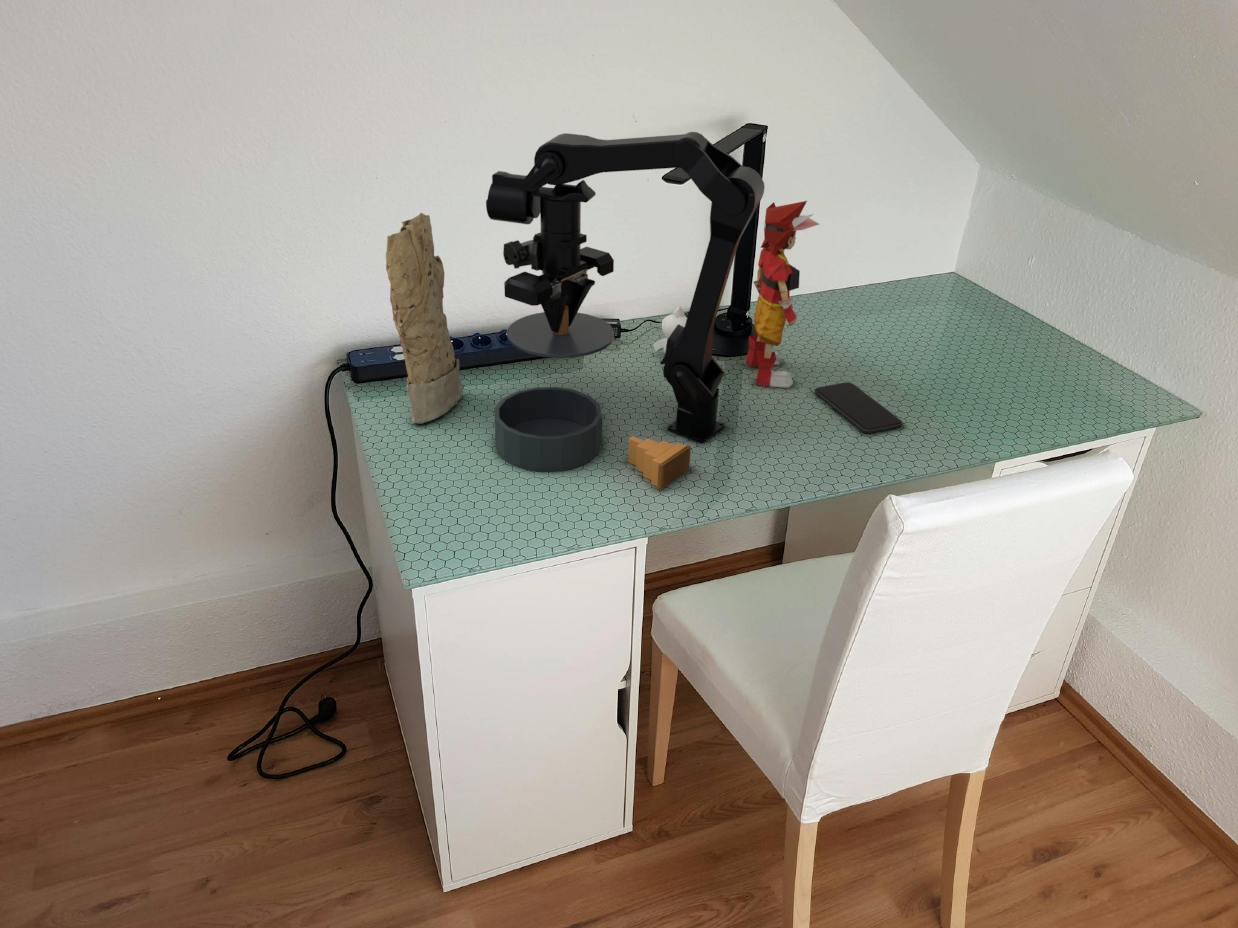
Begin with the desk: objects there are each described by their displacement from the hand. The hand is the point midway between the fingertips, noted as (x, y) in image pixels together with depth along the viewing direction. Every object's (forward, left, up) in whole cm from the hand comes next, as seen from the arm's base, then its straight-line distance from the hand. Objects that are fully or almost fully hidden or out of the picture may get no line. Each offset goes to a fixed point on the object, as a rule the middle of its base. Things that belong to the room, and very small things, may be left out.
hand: (560, 329), depth 148 cm
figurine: (-24, +6, -13) cm, 28 cm away
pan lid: (0, 0, -1) cm, 1 cm away
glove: (+13, -16, -13) cm, 24 cm away
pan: (+10, +7, -13) cm, 18 cm away
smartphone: (-30, +37, -13) cm, 49 cm away
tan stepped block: (+6, +23, -13) cm, 27 cm away
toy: (-32, +20, -13) cm, 39 cm away
